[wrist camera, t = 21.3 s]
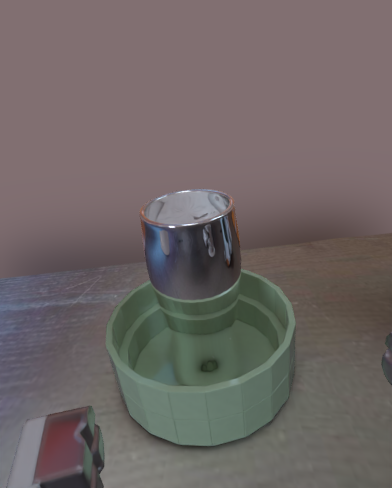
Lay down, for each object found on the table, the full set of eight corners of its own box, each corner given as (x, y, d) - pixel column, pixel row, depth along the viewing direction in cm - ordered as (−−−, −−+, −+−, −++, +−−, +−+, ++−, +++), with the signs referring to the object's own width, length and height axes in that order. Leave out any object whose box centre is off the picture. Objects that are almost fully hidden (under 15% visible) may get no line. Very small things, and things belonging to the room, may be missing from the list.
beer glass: (152, 380, 30) (114, 220, 23) (191, 328, 35) (170, 185, 28) (227, 409, 26) (209, 233, 20) (258, 347, 32) (252, 191, 25)
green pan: (123, 475, 23) (102, 418, 21) (120, 330, 37) (108, 283, 34) (328, 419, 25) (334, 360, 23) (256, 300, 39) (254, 253, 36)
